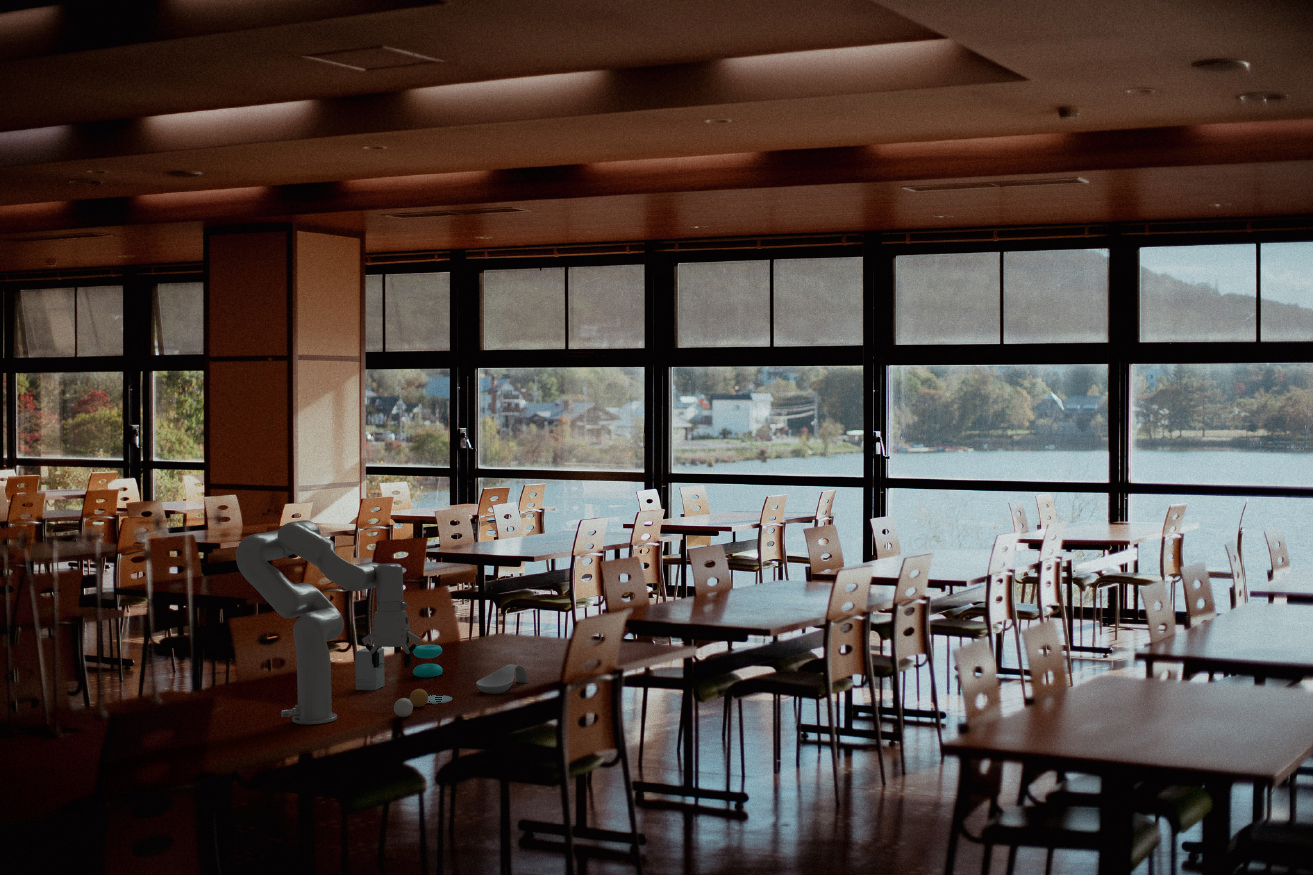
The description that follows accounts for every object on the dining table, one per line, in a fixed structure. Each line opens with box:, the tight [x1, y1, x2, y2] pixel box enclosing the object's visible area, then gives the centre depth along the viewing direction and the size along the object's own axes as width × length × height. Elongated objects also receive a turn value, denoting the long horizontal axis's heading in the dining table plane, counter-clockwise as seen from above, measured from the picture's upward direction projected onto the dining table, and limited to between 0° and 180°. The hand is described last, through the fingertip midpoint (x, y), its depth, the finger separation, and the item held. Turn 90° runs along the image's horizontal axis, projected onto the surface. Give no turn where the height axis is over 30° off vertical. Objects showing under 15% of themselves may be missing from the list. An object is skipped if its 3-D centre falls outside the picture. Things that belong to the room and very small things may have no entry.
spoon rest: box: [475, 663, 529, 695], centre depth 434 cm, size 24×12×7 cm, turn 156°
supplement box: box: [354, 647, 385, 691], centre depth 439 cm, size 7×7×13 cm
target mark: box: [408, 694, 453, 705], centre depth 417 cm, size 14×14×1 cm
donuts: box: [412, 644, 444, 678], centre depth 460 cm, size 10×10×10 cm
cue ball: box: [393, 697, 414, 718], centre depth 393 cm, size 6×6×6 cm
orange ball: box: [409, 688, 429, 708], centre depth 407 cm, size 6×6×6 cm
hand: (391, 666), depth 384 cm, fingers open, 8 cm apart
